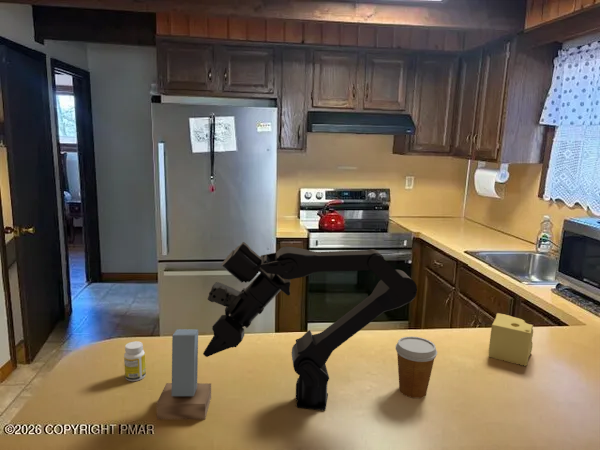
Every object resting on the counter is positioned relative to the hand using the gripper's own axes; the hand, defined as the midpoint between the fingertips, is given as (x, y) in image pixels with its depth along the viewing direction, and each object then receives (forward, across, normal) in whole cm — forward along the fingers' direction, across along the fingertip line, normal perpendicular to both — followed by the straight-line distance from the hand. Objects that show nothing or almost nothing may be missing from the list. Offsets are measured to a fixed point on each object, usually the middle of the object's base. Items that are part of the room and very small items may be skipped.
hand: (209, 347), depth 97 cm
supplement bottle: (+23, -11, -8) cm, 26 cm away
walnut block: (+14, +1, +5) cm, 15 cm away
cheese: (-42, -31, +67) cm, 85 cm away
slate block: (+11, +2, +2) cm, 11 cm away
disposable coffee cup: (-21, -10, +44) cm, 49 cm away
